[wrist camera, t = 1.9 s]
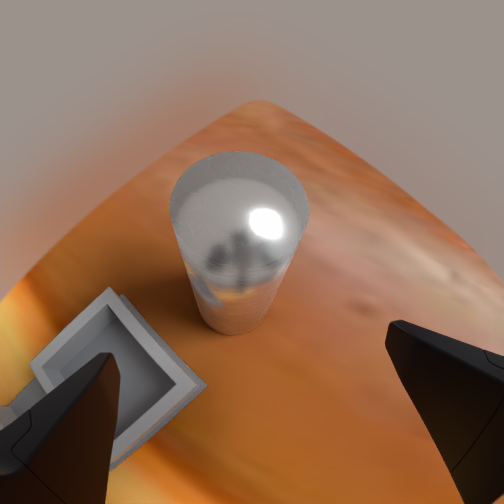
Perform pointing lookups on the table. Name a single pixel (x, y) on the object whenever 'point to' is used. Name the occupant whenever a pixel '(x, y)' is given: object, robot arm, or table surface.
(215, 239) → the cylinder
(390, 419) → the table surface
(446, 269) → the table surface
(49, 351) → the grey socket holder
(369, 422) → the table surface
